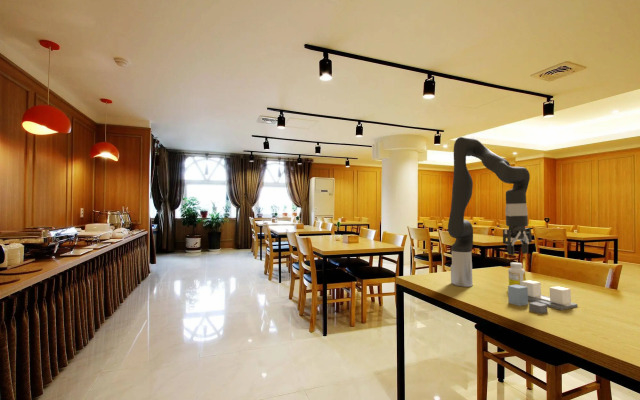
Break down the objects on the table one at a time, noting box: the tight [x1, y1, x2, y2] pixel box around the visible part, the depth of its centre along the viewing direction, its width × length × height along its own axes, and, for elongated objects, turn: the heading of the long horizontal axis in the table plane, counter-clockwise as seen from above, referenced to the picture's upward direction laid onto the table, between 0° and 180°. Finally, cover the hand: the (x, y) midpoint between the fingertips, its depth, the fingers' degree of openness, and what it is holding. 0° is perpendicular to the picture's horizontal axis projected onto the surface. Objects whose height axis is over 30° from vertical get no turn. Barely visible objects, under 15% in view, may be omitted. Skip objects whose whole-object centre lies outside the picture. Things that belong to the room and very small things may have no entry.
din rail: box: [522, 279, 579, 311], centre depth 119 cm, size 17×10×7 cm, turn 20°
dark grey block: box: [528, 301, 548, 315], centre depth 109 cm, size 4×4×3 cm
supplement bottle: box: [507, 261, 527, 286], centre depth 136 cm, size 7×7×13 cm
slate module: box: [507, 285, 529, 307], centre depth 118 cm, size 4×5×7 cm
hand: (518, 254), depth 119 cm, fingers open, 8 cm apart
